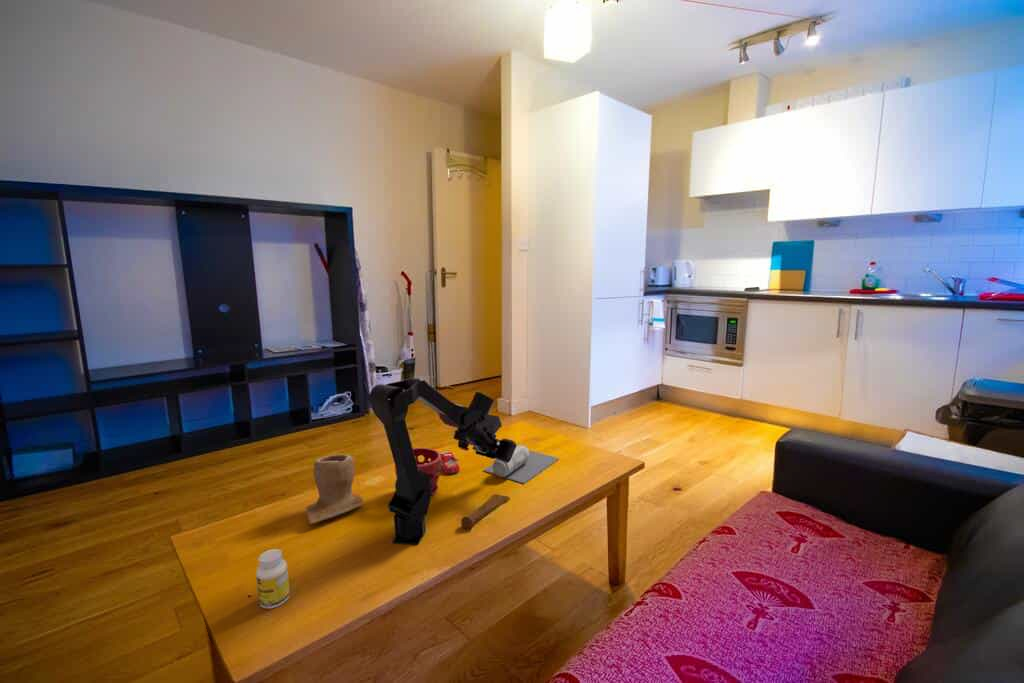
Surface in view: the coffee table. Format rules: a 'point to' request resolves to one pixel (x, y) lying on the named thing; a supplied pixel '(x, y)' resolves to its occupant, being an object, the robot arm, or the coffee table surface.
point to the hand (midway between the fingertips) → (498, 457)
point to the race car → (449, 463)
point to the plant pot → (428, 465)
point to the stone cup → (333, 488)
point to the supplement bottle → (272, 579)
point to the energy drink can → (511, 462)
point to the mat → (529, 467)
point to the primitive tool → (483, 510)
